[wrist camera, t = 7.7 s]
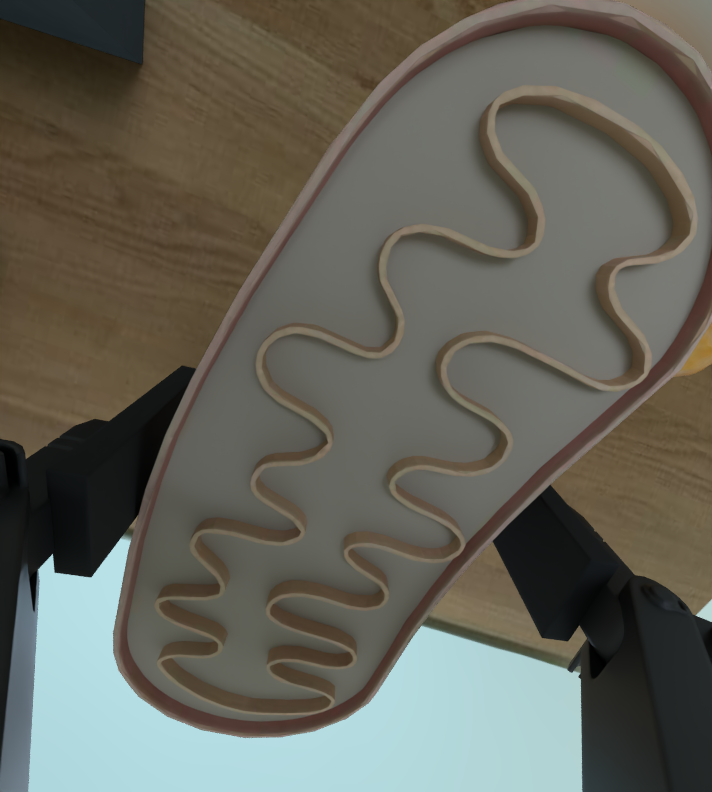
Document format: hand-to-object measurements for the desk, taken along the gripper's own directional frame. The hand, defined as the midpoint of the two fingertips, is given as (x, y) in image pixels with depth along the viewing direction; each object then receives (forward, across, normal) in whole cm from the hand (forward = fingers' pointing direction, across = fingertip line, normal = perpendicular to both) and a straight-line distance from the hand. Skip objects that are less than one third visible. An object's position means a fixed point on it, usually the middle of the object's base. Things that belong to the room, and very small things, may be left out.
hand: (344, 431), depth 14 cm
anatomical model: (0, 0, 0) cm, 0 cm away
